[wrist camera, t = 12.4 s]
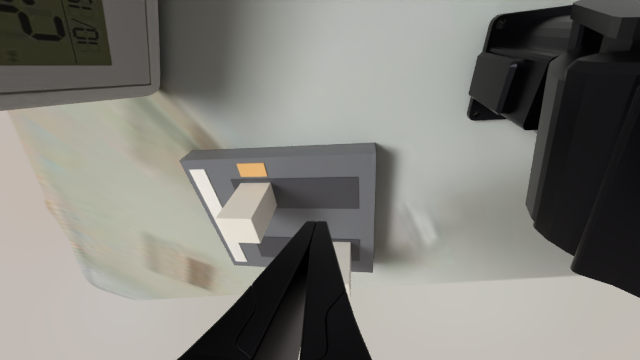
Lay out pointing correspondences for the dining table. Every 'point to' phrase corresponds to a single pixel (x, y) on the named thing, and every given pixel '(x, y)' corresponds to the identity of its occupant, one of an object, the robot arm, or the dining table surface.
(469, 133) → the dining table surface
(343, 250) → the switch tab
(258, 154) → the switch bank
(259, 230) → the switch tab
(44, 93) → the digital clock
